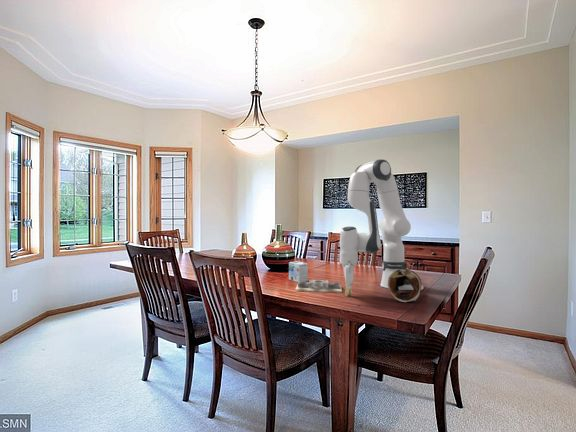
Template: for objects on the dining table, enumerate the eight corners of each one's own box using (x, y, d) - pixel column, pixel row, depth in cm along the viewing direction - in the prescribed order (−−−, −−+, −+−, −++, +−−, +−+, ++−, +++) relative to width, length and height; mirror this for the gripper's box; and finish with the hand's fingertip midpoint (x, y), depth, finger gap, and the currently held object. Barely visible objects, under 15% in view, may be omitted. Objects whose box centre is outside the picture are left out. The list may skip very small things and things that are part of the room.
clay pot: (420, 268, 178) (419, 267, 155) (423, 298, 175) (423, 301, 152) (390, 270, 184) (385, 269, 161) (394, 299, 180) (389, 302, 158)
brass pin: (351, 295, 170) (351, 275, 170) (351, 296, 167) (351, 276, 167) (345, 294, 170) (345, 275, 170) (345, 296, 167) (345, 276, 167)
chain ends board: (341, 287, 187) (341, 279, 187) (341, 292, 175) (341, 284, 175) (297, 285, 190) (297, 278, 190) (295, 290, 178) (295, 283, 178)
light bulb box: (288, 279, 206) (288, 261, 206) (297, 278, 210) (297, 260, 210) (299, 282, 197) (299, 264, 197) (308, 281, 201) (308, 263, 201)
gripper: (356, 263, 157) (356, 292, 158) (353, 256, 178) (353, 283, 178) (342, 262, 158) (342, 292, 158) (341, 256, 178) (341, 282, 179)
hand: (348, 287), depth 168 cm, fingers closed on brass pin, 3 cm apart
